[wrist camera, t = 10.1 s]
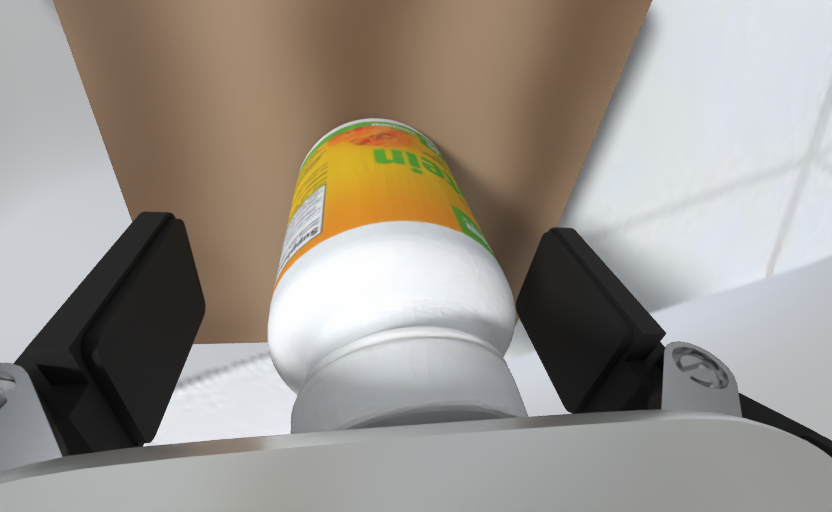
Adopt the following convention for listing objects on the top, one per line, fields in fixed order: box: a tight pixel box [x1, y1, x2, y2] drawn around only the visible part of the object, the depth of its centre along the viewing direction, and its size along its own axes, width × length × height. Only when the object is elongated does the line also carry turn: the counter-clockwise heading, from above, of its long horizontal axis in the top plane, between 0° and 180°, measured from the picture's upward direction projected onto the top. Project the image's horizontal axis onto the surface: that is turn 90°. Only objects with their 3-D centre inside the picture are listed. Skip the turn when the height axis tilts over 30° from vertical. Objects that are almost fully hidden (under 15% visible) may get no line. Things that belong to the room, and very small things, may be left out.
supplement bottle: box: [268, 118, 528, 434], centre depth 10 cm, size 5×5×10 cm
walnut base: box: [53, 0, 652, 344], centre depth 15 cm, size 16×16×3 cm
